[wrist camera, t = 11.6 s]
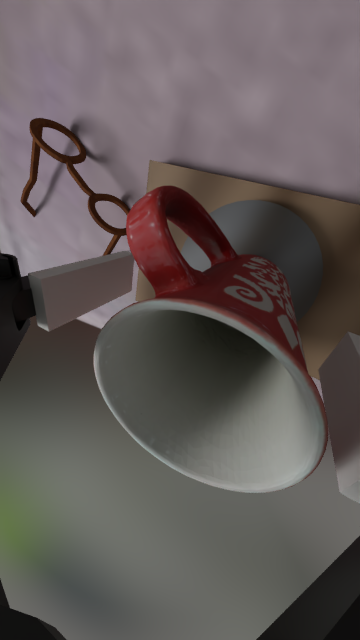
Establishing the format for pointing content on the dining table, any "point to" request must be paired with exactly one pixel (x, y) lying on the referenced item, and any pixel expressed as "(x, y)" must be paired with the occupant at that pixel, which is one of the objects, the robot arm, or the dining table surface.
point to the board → (280, 248)
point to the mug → (210, 358)
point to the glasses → (38, 142)
